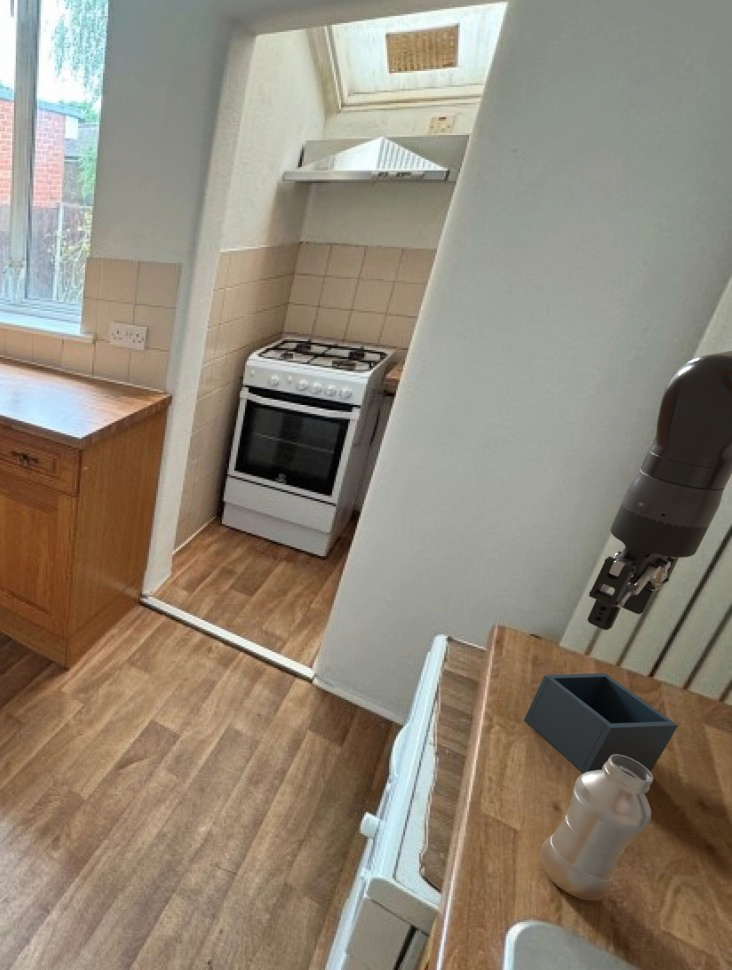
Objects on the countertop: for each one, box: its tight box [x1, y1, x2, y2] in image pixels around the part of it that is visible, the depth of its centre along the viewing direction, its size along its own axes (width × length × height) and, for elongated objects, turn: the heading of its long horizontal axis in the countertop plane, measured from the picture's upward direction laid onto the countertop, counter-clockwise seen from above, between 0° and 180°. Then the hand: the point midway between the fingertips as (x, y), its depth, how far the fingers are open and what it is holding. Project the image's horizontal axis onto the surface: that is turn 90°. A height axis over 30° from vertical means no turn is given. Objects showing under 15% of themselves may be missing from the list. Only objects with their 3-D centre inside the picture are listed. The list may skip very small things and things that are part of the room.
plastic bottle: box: [539, 754, 654, 902], centre depth 73 cm, size 6×7×20 cm
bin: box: [523, 672, 679, 774], centre depth 95 cm, size 11×11×10 cm
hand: (615, 617), depth 80 cm, fingers open, 8 cm apart
